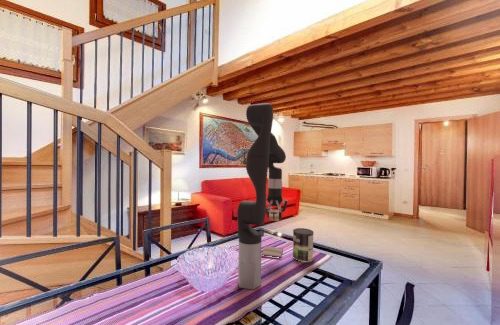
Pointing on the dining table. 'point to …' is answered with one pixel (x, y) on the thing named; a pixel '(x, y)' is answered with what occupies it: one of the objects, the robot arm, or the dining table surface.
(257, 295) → the dining table surface
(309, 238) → the coffee can
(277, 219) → the letter cube
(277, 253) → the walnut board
